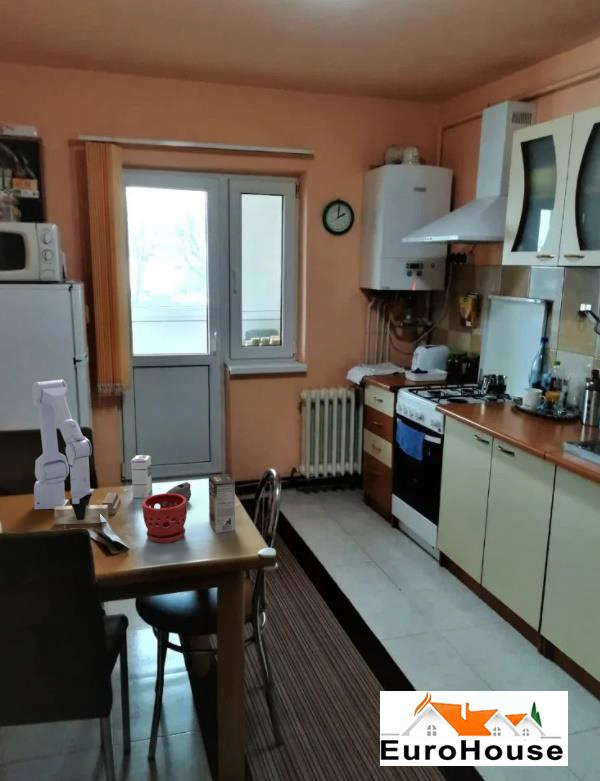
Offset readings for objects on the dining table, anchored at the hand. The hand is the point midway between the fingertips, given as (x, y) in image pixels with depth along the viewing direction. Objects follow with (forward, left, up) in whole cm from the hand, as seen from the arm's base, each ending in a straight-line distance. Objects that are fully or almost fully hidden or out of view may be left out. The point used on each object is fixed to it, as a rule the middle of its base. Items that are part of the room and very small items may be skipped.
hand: (81, 517), depth 198 cm
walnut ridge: (+7, +11, -1) cm, 13 cm away
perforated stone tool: (+29, +12, -2) cm, 31 cm away
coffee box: (+45, -8, -2) cm, 46 cm away
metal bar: (0, 0, -2) cm, 2 cm away
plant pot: (+28, -15, -2) cm, 32 cm away
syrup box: (+16, +24, -2) cm, 29 cm away
